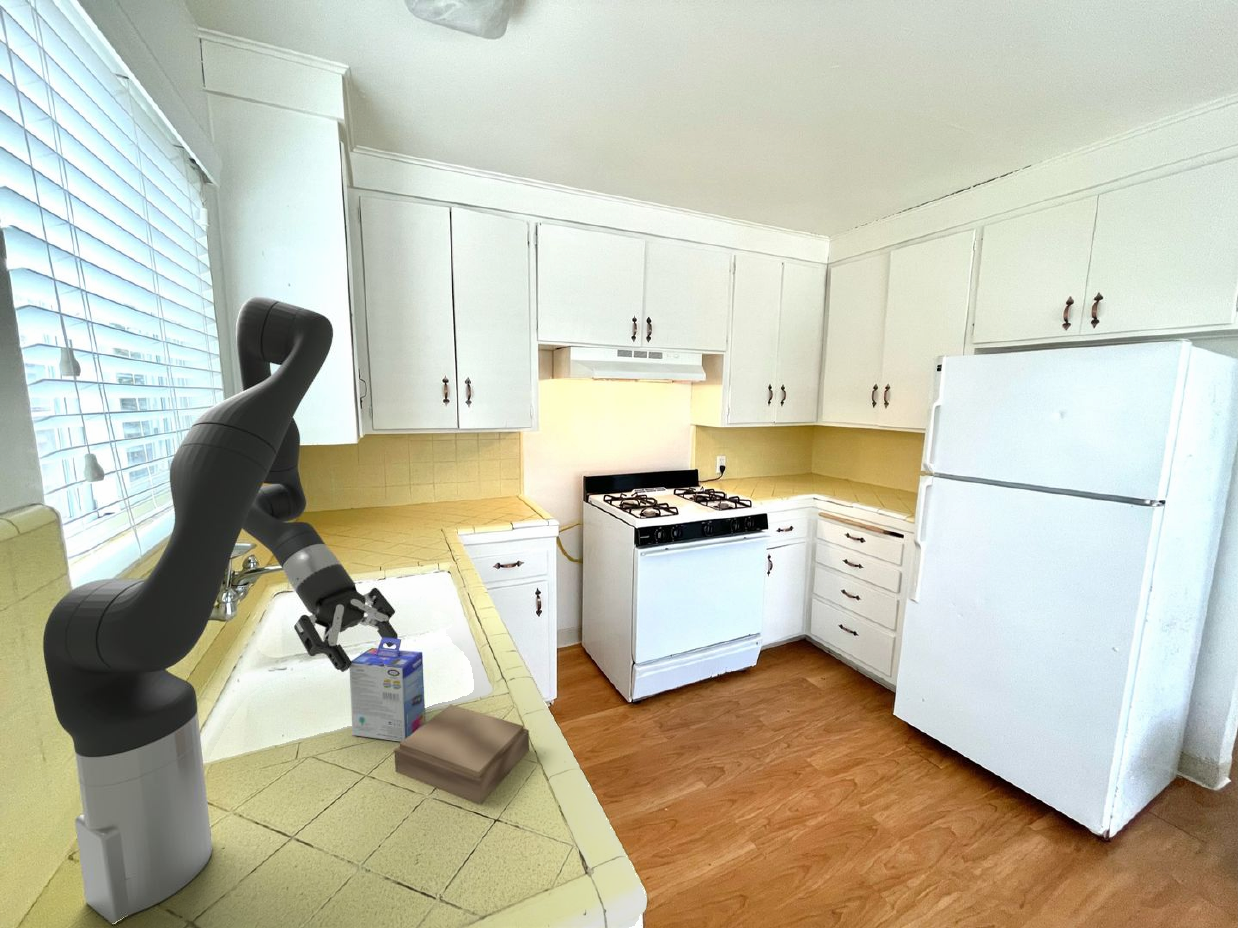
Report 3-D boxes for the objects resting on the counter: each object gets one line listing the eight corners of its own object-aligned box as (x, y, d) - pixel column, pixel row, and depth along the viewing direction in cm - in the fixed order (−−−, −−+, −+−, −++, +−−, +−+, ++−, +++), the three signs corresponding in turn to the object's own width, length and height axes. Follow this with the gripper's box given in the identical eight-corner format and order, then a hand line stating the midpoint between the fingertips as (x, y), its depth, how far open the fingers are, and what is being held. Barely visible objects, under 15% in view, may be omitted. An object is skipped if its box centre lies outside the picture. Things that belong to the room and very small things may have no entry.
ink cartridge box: (428, 721, 78) (423, 637, 77) (407, 744, 73) (401, 654, 72) (375, 714, 80) (370, 632, 79) (351, 736, 75) (344, 648, 74)
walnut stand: (480, 804, 61) (479, 775, 61) (395, 771, 67) (393, 744, 67) (529, 749, 71) (528, 724, 71) (451, 725, 77) (450, 701, 77)
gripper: (283, 577, 72) (341, 664, 69) (366, 552, 85) (418, 624, 82) (265, 606, 75) (319, 691, 72) (348, 577, 88) (397, 648, 85)
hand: (371, 655), depth 77 cm, fingers open, 8 cm apart
